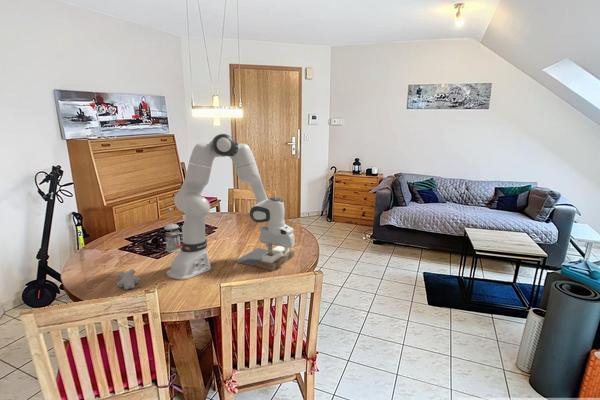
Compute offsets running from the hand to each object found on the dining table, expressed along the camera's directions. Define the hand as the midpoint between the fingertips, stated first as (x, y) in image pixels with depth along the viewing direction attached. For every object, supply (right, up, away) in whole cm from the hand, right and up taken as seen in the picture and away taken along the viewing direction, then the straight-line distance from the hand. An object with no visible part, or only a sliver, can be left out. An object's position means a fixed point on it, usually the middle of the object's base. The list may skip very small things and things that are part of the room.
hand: (277, 252), depth 184 cm
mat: (-12, -3, +6) cm, 14 cm away
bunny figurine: (-67, -11, -25) cm, 73 cm away
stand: (-1, -5, 0) cm, 5 cm away
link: (-1, -2, -1) cm, 2 cm away
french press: (-61, -1, +17) cm, 64 cm away
